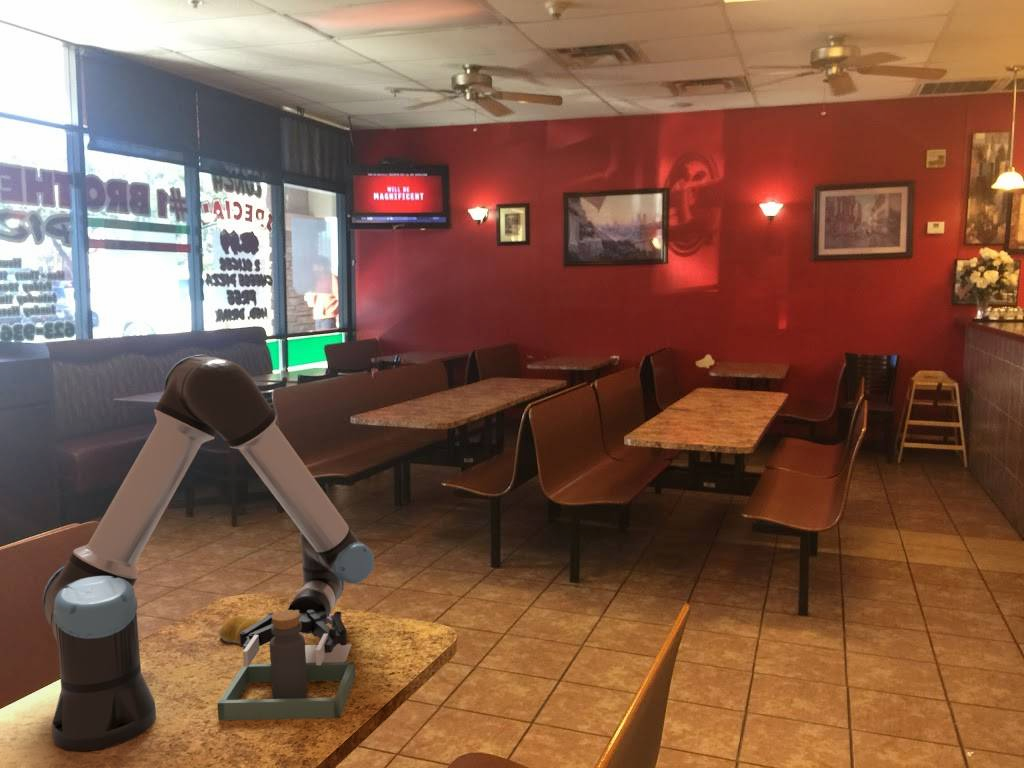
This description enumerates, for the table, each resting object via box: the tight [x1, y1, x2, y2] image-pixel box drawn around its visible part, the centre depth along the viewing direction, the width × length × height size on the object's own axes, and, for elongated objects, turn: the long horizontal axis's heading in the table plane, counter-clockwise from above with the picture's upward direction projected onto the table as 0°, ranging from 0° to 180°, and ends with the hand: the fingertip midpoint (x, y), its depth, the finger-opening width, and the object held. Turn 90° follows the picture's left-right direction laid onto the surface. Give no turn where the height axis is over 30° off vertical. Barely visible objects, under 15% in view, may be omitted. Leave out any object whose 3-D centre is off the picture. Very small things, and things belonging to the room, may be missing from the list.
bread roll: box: [218, 615, 262, 645], centre depth 170 cm, size 8×9×4 cm
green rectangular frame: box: [217, 661, 356, 721], centre depth 144 cm, size 20×14×3 cm
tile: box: [268, 643, 353, 664], centre depth 159 cm, size 14×10×1 cm
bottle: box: [269, 609, 308, 699], centre depth 143 cm, size 6×6×15 cm
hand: (281, 658), depth 139 cm, fingers open, 11 cm apart
